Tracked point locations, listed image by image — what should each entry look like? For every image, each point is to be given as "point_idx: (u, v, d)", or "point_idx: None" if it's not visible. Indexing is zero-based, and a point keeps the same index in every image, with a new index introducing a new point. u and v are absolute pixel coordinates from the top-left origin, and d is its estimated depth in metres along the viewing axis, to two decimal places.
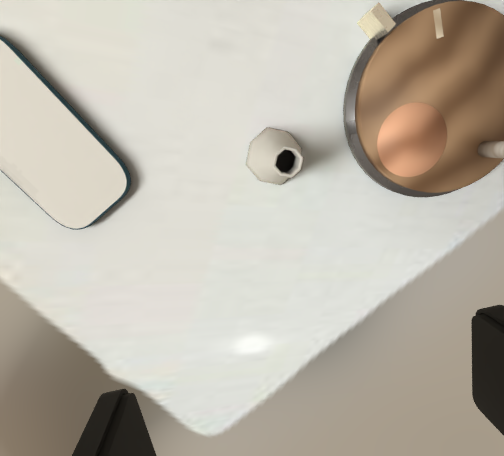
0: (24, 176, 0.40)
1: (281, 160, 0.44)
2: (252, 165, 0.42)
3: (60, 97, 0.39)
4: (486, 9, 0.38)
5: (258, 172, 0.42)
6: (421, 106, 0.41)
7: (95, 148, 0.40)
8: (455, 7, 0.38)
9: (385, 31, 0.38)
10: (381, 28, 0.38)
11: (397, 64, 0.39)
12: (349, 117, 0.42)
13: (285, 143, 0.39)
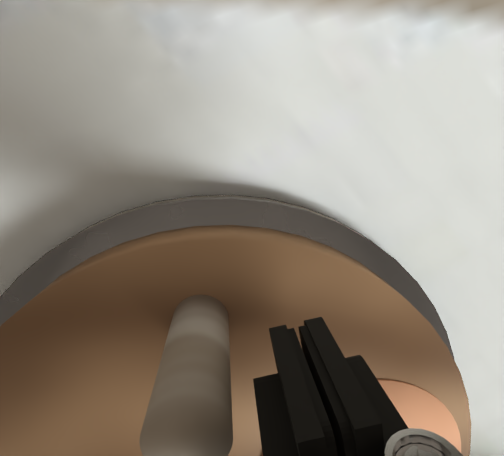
0: None
1: None
2: None
3: None
4: None
5: None
6: None
7: None
8: None
9: None
10: None
11: None
12: None
13: None
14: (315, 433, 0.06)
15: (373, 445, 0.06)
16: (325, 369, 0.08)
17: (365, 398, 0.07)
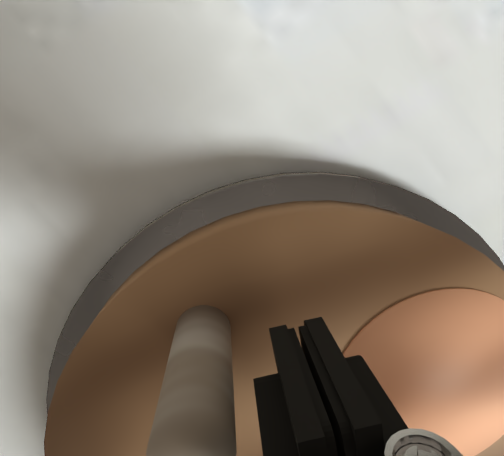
0: None
1: None
2: None
3: None
4: None
5: None
6: None
7: None
8: None
9: None
10: None
11: None
12: None
13: None
14: (315, 433, 0.06)
15: (373, 445, 0.06)
16: (325, 369, 0.08)
17: (365, 398, 0.07)
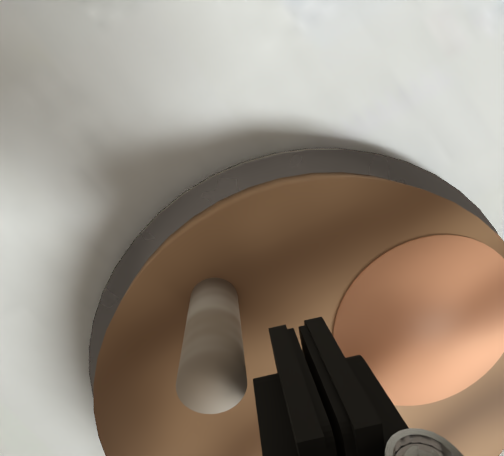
0: None
1: None
2: None
3: None
4: None
5: None
6: (396, 396, 0.17)
7: None
8: None
9: None
10: None
11: None
12: None
13: None
14: (315, 433, 0.06)
15: (373, 445, 0.06)
16: (325, 369, 0.08)
17: (365, 398, 0.07)
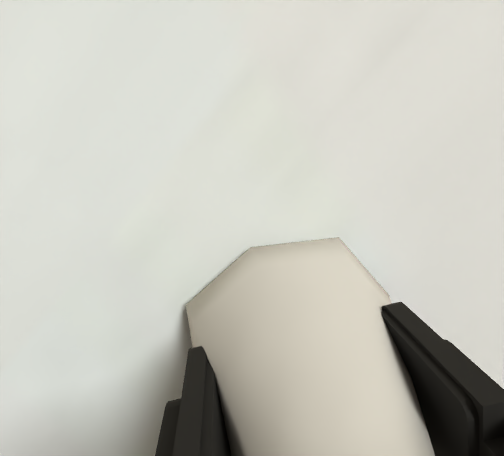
0: None
1: None
2: (337, 270, 0.09)
3: None
4: None
5: (298, 281, 0.09)
6: None
7: None
8: None
9: None
10: None
11: None
12: None
13: None
14: None
15: (499, 423, 0.06)
16: (425, 351, 0.08)
17: (482, 377, 0.06)
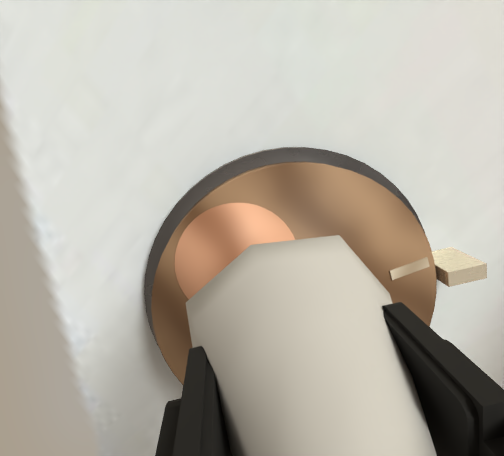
0: None
1: None
2: (338, 267, 0.09)
3: None
4: None
5: (298, 278, 0.09)
6: None
7: None
8: (428, 288, 0.26)
9: (447, 269, 0.25)
10: (453, 267, 0.25)
11: (355, 216, 0.24)
12: (365, 170, 0.25)
13: None
14: None
15: (499, 423, 0.06)
16: (424, 351, 0.08)
17: (482, 377, 0.06)
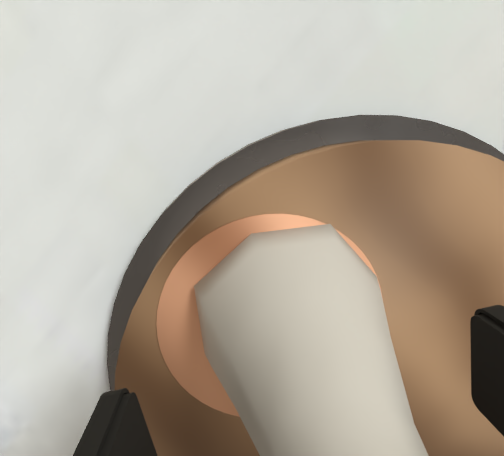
0: None
1: None
2: (328, 251, 0.11)
3: None
4: None
5: (293, 261, 0.10)
6: None
7: None
8: None
9: None
10: None
11: (488, 240, 0.13)
12: None
13: None
14: None
15: None
16: None
17: None
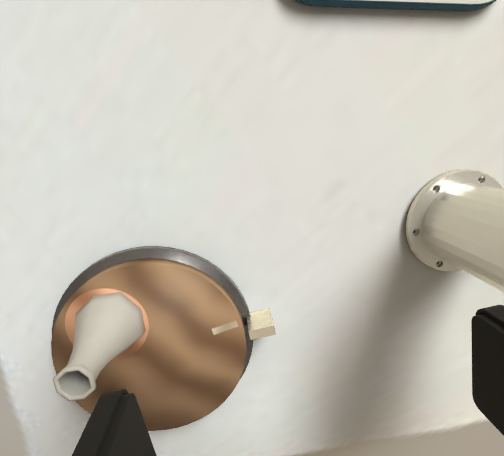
0: None
1: None
2: (113, 302, 0.35)
3: (406, 6, 0.34)
4: (240, 367, 0.40)
5: (100, 306, 0.34)
6: (145, 327, 0.38)
7: None
8: (240, 340, 0.39)
9: (250, 328, 0.38)
10: (254, 326, 0.39)
11: (183, 295, 0.37)
12: (197, 262, 0.39)
13: (109, 361, 0.33)
14: None
15: None
16: None
17: None
